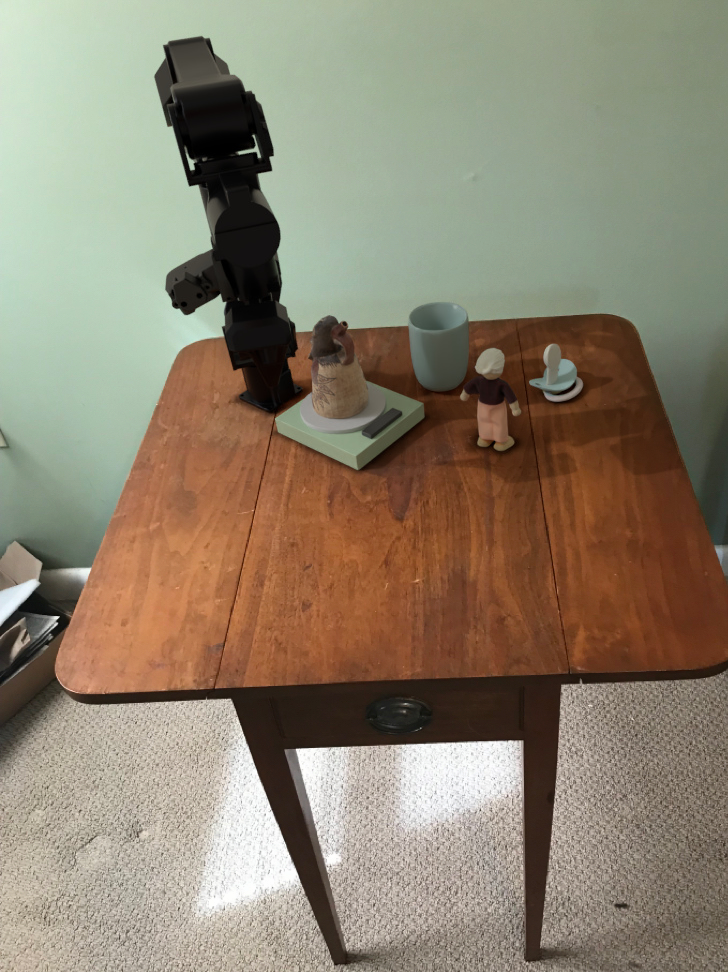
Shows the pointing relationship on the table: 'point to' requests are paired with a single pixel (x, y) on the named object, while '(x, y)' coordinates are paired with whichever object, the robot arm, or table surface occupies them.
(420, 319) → the cup
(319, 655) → the table surface
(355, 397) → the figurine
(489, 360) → the grandmother figurine
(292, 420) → the kitchen scale
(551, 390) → the pacifier
